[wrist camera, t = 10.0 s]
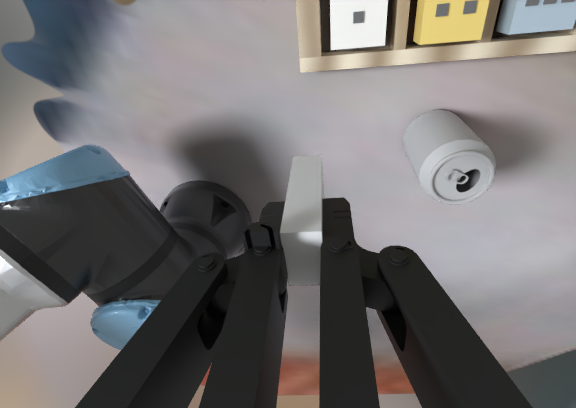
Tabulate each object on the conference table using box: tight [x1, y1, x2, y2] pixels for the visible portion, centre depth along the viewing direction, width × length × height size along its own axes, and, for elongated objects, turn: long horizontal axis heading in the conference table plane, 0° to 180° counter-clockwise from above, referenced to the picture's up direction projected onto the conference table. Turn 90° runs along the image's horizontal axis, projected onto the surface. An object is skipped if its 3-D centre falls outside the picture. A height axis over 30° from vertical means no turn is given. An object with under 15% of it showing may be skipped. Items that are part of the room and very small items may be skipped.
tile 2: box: [413, 0, 489, 45], centre depth 30 cm, size 6×6×3 cm
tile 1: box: [330, 0, 388, 50], centre depth 33 cm, size 6×6×3 cm
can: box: [403, 110, 496, 205], centre depth 37 cm, size 8×8×12 cm
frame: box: [296, 0, 576, 72], centre depth 32 cm, size 30×10×3 cm, turn 96°
